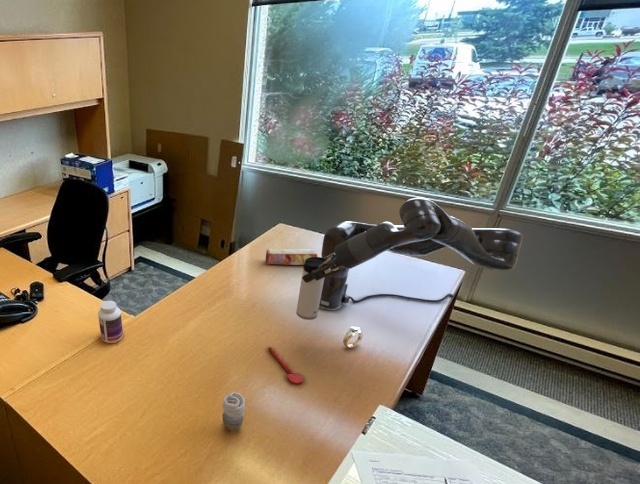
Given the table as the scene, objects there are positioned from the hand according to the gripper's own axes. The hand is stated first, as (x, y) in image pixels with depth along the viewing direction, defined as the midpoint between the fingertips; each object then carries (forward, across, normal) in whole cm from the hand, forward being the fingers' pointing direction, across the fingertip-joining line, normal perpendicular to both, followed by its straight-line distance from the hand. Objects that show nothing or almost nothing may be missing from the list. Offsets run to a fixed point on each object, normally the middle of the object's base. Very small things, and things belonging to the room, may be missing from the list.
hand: (308, 274), depth 127 cm
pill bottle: (+58, -33, +19) cm, 70 cm away
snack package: (+36, +54, -4) cm, 65 cm away
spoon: (+19, -12, -20) cm, 30 cm away
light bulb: (+21, -44, -19) cm, 52 cm away
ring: (+9, +9, -30) cm, 33 cm away
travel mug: (+9, 0, -12) cm, 15 cm away
